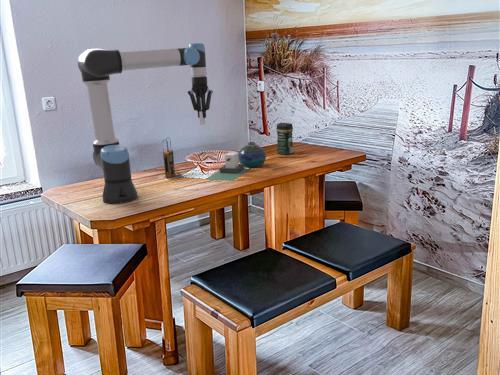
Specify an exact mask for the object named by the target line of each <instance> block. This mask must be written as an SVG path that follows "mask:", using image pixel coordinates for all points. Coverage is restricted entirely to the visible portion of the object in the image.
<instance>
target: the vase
mask: <svg viewBox="0 0 500 375" xmlns="http://www.w3.org/2000/svg"><path fill="white" fill-rule="evenodd" d="M237 153H238V163H239V164H244V168H248V169H254V168H259V167H261V166H263V165H264V164H265V162H266V159H267V153H266V150H265V148H263V147H262V146H260V145H259V144H256V142H255V141H249V142H247V144H246V145H244V146H243V147H241V148H240V149H239V151H238V152H237Z"/></svg>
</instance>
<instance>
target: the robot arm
mask: <svg viewBox="0 0 500 375" xmlns="http://www.w3.org/2000/svg"><path fill="white" fill-rule="evenodd" d="M206 59H207V58H206V47H205V44H204V43H201V42H200V43H199V42H198V43H197V42H196V43H189V44H188V47H181V48H180V47H179V48H166V49H164V48H163V49H150V50H149V49H147V50H136V51H135V50H132V51H121V50H119V49H102V48H90V49H89V48H88V49H86V50H84V51H82V52H81V54H79V55H78V59H77V66H78V69H79V72H80V74H81V79H82V83H84V85H86V87H87V94H88V99H89V100H88V101H89V106H90V112H91V119H92V127H93V131H94V137H95V139H94V140H93V142H92V148H93V152H92V160H93V161H94V164H95V165H96V166H97V167H98V168H100V169H101V170H102V174H103V181H104V186H103V191H102V202H103V203H106V204H113V205H114V204H116V205H117V204H125V203H129V202H133V201H134V200H136V199H138V198H139V197H138V191H137V189H136V187H135V184H134V183H133V180H132V171H131V162H130V153H129V150H128V148H127V147H126V146H125V145H122V144H121V145H120V140H119V139H118V138H117V137H116V135H115V130H114V123H113V115H112V108H111V102H110V95H109V88H108V83H109V82H110V80H111V77H110V76H111V75H116V74H122V73H123V72H124V71H133V70H143V69H144V70H146V69H157V68H167V67H169V68H170V67H180V66H190V74H191V85H192V86H191V89H190V90H188V91H187V94H188V95H189V97H190V101H191V104H192V108H193V110H194V111H196V112H197V118H198V119H199V124H200V125H201V126H203V125H205V124H206V118H207V111H208V110H210V106H211V99H212V94H213V93H214V91H213V89H212V90H211V89H210V88H209V86H208V77H207V63H206Z"/></svg>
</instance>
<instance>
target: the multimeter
mask: <svg viewBox="0 0 500 375" xmlns="http://www.w3.org/2000/svg"><path fill="white" fill-rule="evenodd" d="M168 139H169V142H168ZM164 141H165V142H166V151H165V150H164V149H162V156H163V165H164V175H165V176H164V177H165V178H167V180H170V181H172V180H176V179H179V178H180V177H182V178H183V177H185V176H184V175H181V174H180V172H177V171H176V169H175V160H174V159H175V157H174V150H173V149H170V148H172V144H171V142H172V141H171V138H170V137H166V138H165V139H163V140H162V142H164ZM169 145H170V148H169ZM175 174H177V176H176V177H174V178H172V177H173V176H174V175H175Z"/></svg>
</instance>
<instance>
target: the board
mask: <svg viewBox="0 0 500 375" xmlns="http://www.w3.org/2000/svg"><path fill="white" fill-rule="evenodd" d="M249 170H250V168H246V167H244V164H240V163H239V166H238V167H237V168H225V164H224V165H223V166H221V167H219V170H218V171H216V172H214V173H213V174H211V175H210V176H208V177H206V178H205V181H206V180H208V181H209V180H210V181H232V182H233V181H235V180H236V179H238V178H239V177H241V176H242V175H244V174H245V173H246V172H247V171H249Z"/></svg>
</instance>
